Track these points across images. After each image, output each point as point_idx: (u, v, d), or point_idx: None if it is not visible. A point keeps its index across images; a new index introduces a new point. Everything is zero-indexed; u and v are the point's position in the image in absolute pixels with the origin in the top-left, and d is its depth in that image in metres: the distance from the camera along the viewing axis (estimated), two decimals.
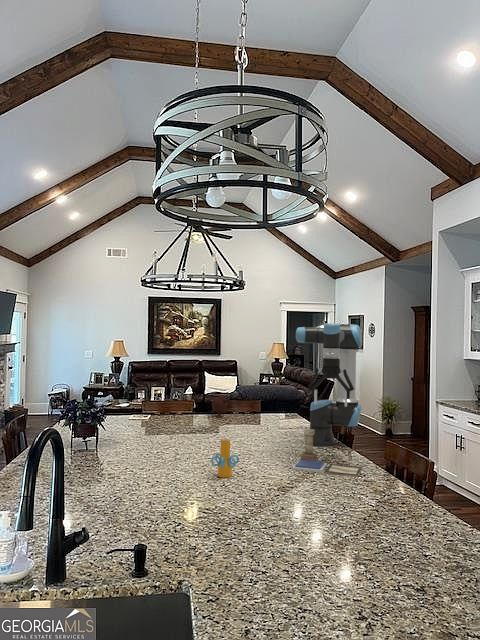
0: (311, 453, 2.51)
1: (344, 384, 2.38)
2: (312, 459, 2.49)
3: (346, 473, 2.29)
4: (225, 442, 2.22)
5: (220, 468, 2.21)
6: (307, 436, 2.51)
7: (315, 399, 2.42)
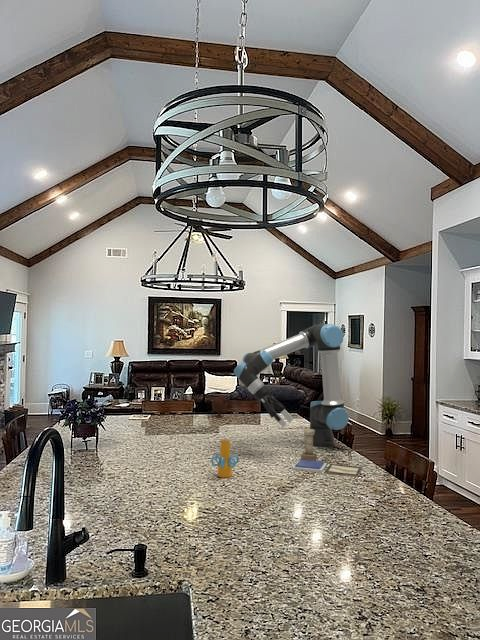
0: (311, 453, 2.51)
1: None
2: (312, 459, 2.49)
3: (346, 473, 2.29)
4: (225, 442, 2.22)
5: (220, 468, 2.21)
6: (307, 436, 2.51)
7: (286, 419, 2.63)
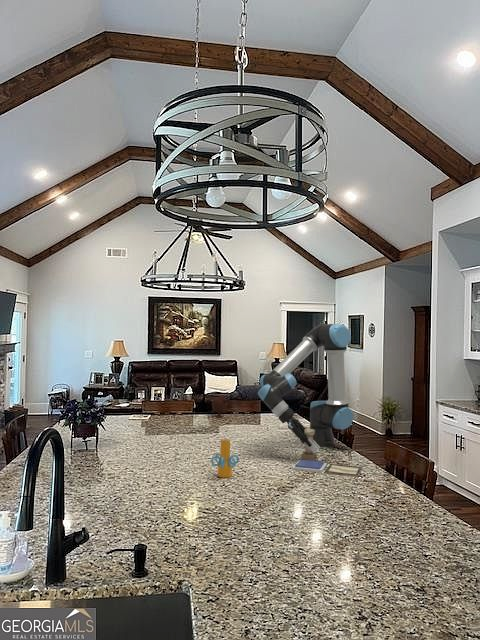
0: (311, 453, 2.51)
1: None
2: (312, 459, 2.49)
3: (346, 473, 2.29)
4: (225, 442, 2.22)
5: (220, 468, 2.21)
6: (307, 436, 2.51)
7: None
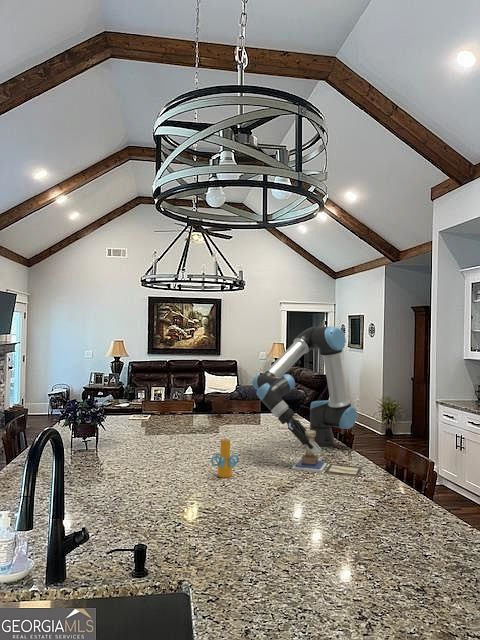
0: (312, 455, 2.39)
1: None
2: (313, 462, 2.36)
3: (346, 473, 2.29)
4: (225, 442, 2.22)
5: (220, 468, 2.21)
6: (308, 438, 2.39)
7: None
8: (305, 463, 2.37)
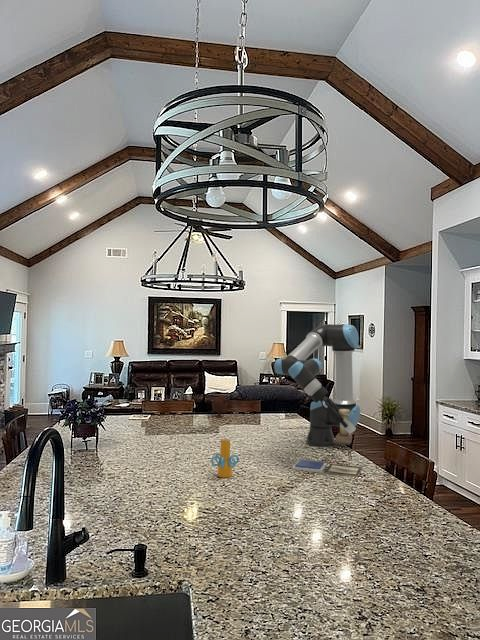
0: (346, 434, 2.34)
1: None
2: (348, 441, 2.31)
3: (346, 473, 2.29)
4: (225, 442, 2.22)
5: (220, 468, 2.21)
6: (342, 416, 2.34)
7: None
8: (339, 442, 2.33)
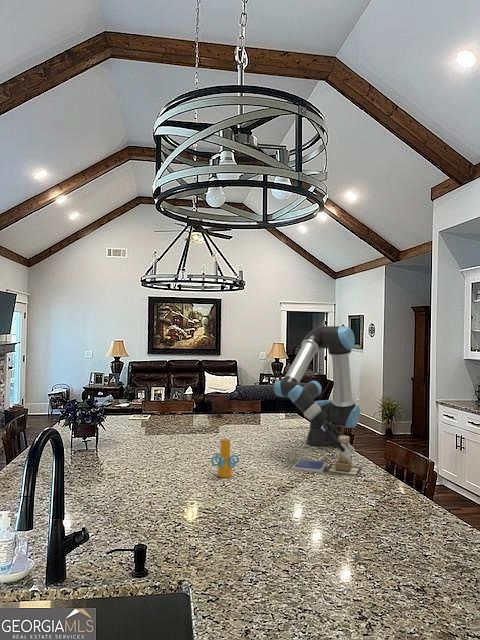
0: (346, 461, 2.34)
1: None
2: (348, 468, 2.31)
3: (346, 473, 2.29)
4: (225, 442, 2.22)
5: (220, 468, 2.21)
6: (342, 443, 2.34)
7: None
8: (339, 469, 2.33)
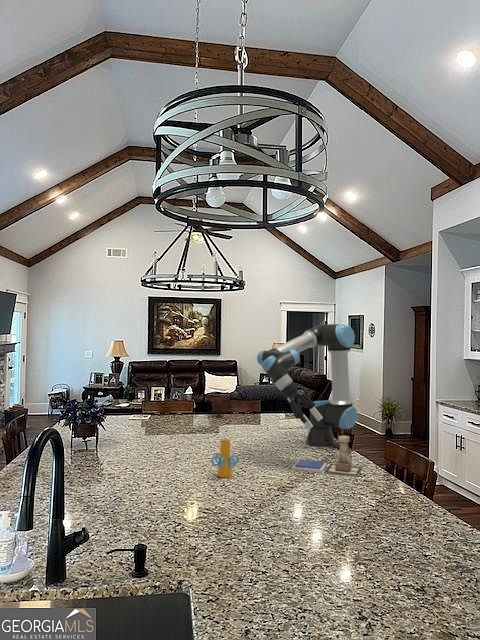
0: (346, 461, 2.34)
1: None
2: (348, 468, 2.31)
3: (346, 473, 2.29)
4: (225, 442, 2.22)
5: (220, 468, 2.21)
6: (342, 443, 2.34)
7: (315, 417, 2.49)
8: (339, 469, 2.33)
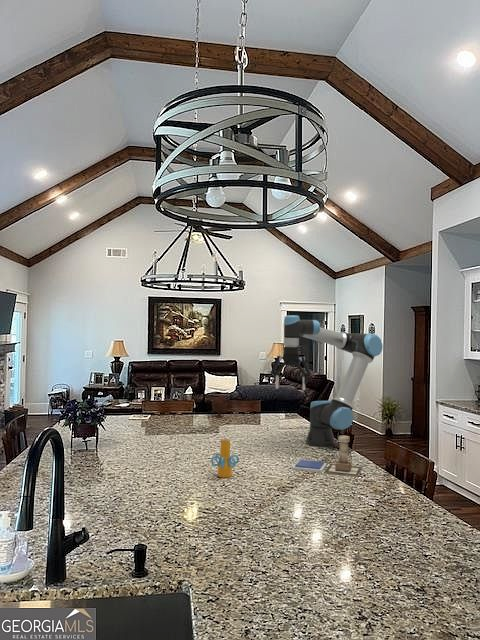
0: (346, 461, 2.34)
1: None
2: (348, 468, 2.31)
3: (346, 473, 2.29)
4: (225, 442, 2.22)
5: (220, 468, 2.21)
6: (342, 443, 2.34)
7: None
8: (339, 469, 2.33)
